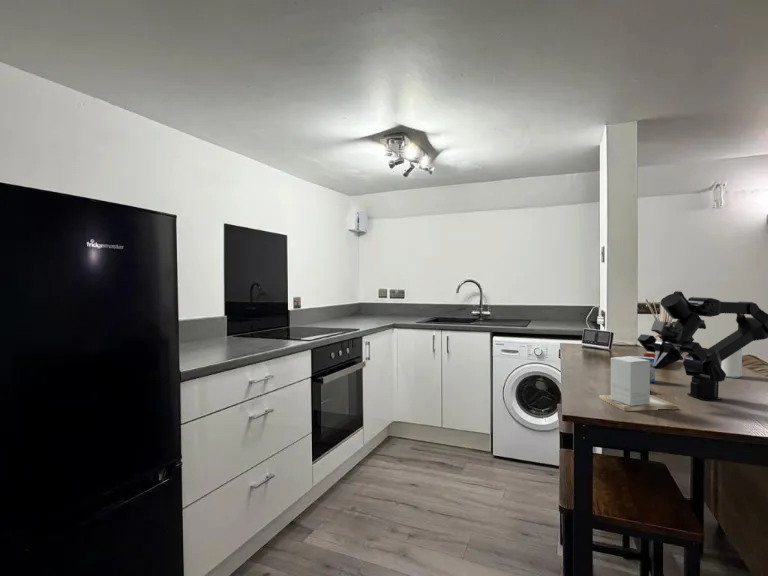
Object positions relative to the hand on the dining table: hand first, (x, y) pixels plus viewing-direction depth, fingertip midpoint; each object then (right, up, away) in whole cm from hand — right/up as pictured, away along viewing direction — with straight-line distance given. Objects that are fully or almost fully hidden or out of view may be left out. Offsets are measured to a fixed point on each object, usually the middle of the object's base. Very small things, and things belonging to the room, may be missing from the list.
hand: (654, 368), depth 125 cm
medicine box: (+13, -10, +27) cm, 32 cm away
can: (+49, -10, +33) cm, 60 cm away
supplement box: (-9, -10, -2) cm, 13 cm away
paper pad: (-5, -11, 0) cm, 12 cm away
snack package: (+37, -9, +55) cm, 67 cm away
